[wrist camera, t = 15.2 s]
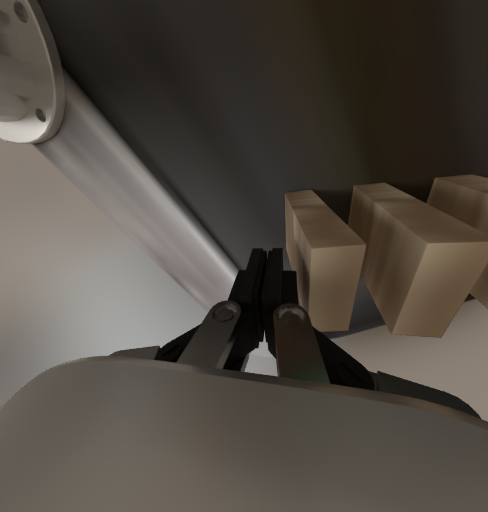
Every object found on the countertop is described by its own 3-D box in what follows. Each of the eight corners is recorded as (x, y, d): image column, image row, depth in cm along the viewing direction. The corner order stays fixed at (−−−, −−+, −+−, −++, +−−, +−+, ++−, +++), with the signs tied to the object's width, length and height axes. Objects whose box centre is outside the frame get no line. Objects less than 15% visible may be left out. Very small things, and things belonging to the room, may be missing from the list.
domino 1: (286, 247, 18) (307, 331, 10) (284, 192, 15) (311, 249, 7) (308, 245, 17) (348, 330, 10) (310, 189, 15) (366, 244, 7)
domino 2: (344, 244, 17) (391, 334, 9) (353, 185, 14) (427, 243, 7) (370, 244, 16) (441, 337, 9) (384, 182, 14) (501, 241, 6)
